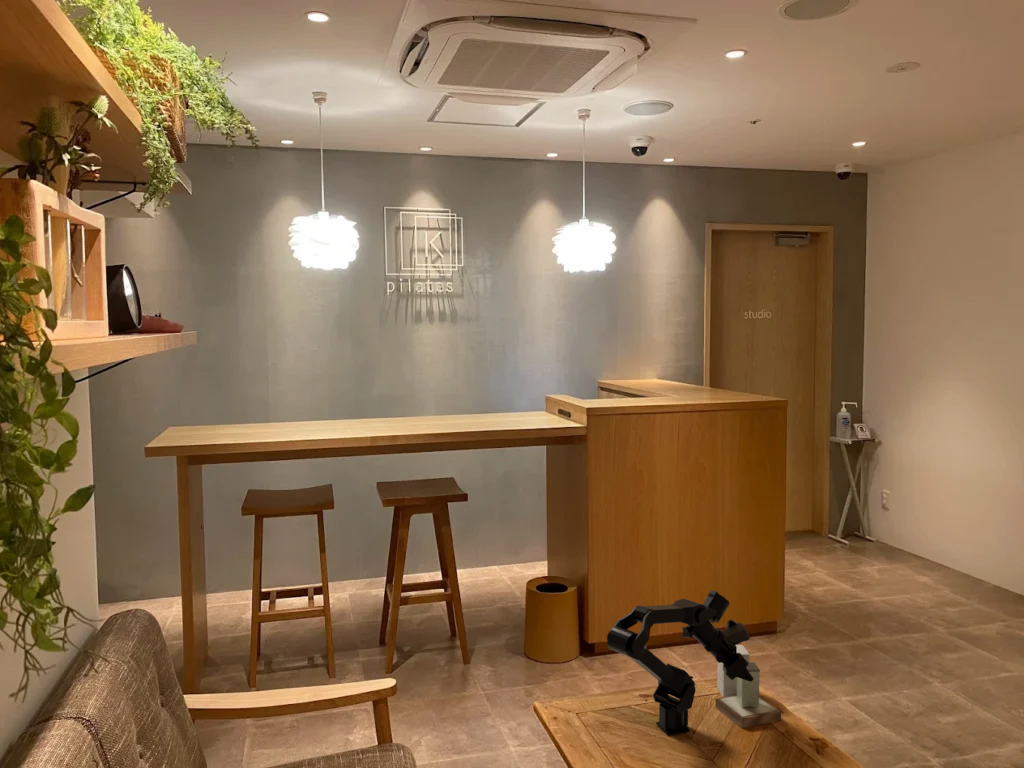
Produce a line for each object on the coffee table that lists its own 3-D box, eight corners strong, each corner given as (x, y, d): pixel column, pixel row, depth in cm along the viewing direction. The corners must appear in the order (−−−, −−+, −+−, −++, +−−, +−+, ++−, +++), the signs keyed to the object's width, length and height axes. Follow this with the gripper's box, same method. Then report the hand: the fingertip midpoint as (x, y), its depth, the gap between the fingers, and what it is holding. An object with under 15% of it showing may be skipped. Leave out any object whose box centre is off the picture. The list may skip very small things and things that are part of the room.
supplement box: (749, 699, 227) (750, 654, 226) (722, 699, 227) (723, 654, 226) (742, 687, 235) (743, 644, 234) (716, 687, 235) (717, 644, 234)
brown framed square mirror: (741, 728, 211) (741, 718, 211) (715, 707, 222) (715, 698, 222) (780, 720, 215) (781, 710, 215) (753, 700, 226) (753, 691, 226)
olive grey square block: (741, 706, 216) (742, 669, 215) (736, 698, 220) (737, 662, 220) (758, 706, 216) (759, 669, 215) (753, 698, 221) (754, 662, 220)
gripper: (740, 627, 207) (783, 670, 208) (720, 602, 226) (760, 641, 227) (709, 658, 207) (752, 700, 208) (691, 631, 226) (731, 669, 227)
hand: (749, 676), depth 218 cm, fingers closed on olive grey square block, 4 cm apart
